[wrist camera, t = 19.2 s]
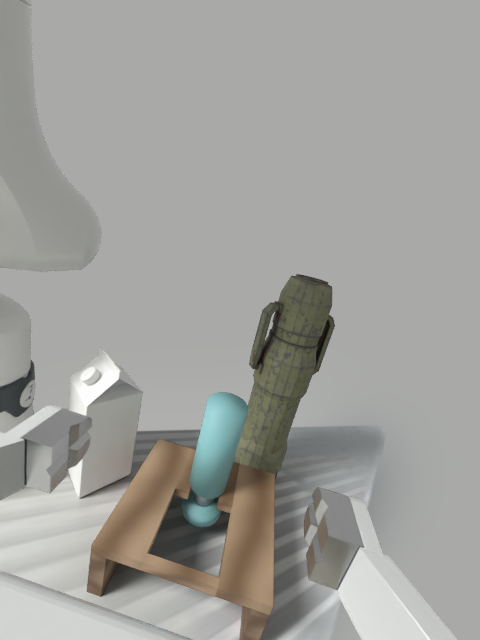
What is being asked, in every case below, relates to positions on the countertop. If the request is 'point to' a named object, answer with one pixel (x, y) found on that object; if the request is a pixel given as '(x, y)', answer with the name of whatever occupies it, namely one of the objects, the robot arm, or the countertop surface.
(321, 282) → the thermos
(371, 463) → the countertop surface
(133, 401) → the milk carton
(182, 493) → the keyhole bridge
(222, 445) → the teal necked cylinder
